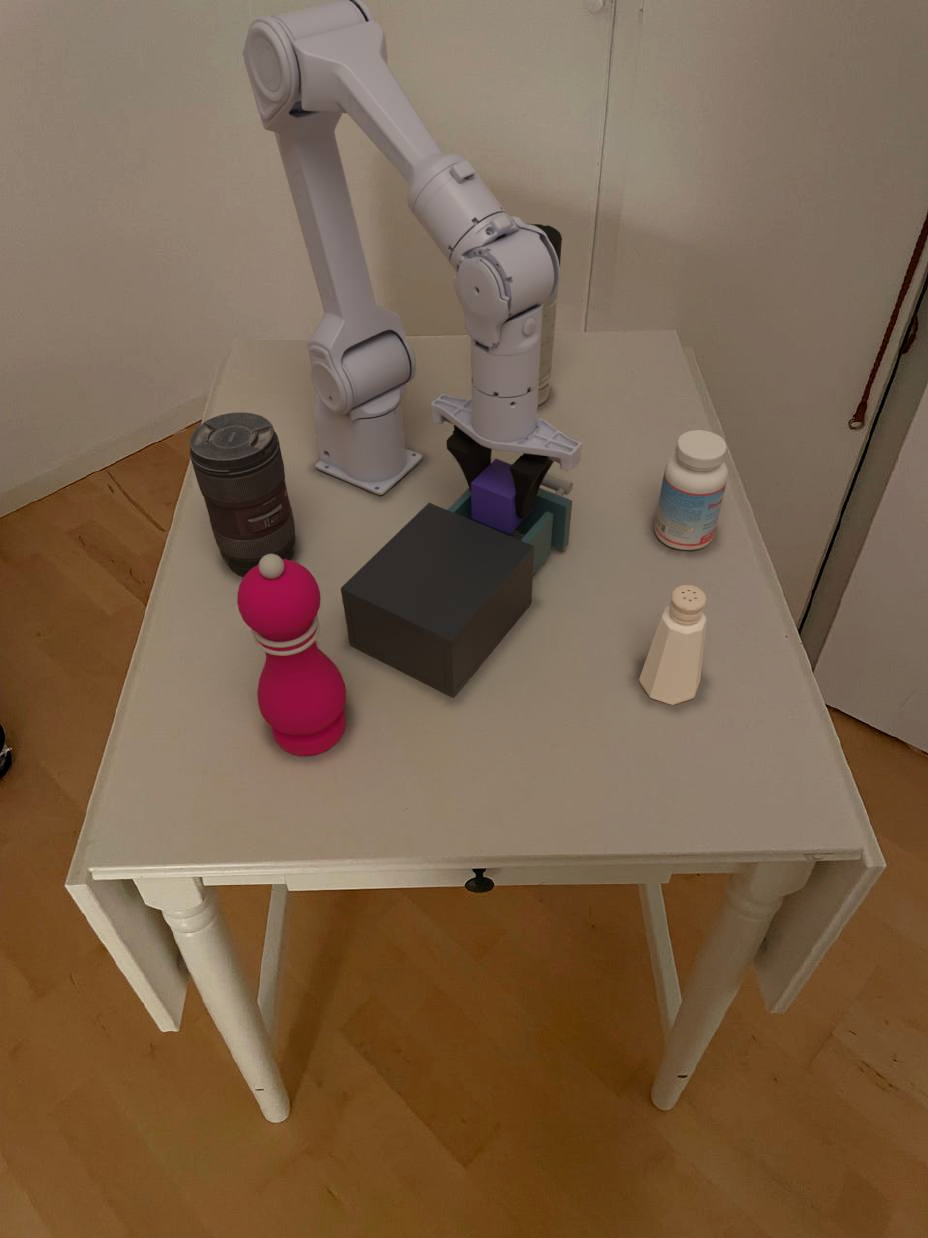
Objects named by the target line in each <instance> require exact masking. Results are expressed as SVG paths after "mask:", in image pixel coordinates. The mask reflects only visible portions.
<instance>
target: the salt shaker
mask: <svg viewBox="0 0 928 1238" xmlns="http://www.w3.org/2000/svg"><path fill="white" fill-rule="evenodd" d="M706 604H707V595H706V594H705V592H704V591H703V590H702V589H701V588H699V587H697V586H695V585H692V584H684V585H683V584H682V585H679V586H677V587H676V588H673V590H672V592H671V595H670V603H669V605H666V606H665V608H664V610H663V613H662V615H661V617H660V620H659V623H658V625H657V628H656V631H655V634H654V637H653V639H652V642H651V645H650V648H649V650H648V653H647V656H646V658H645V661H644V664H643V667H642V671H641V673H640V675H639V678H638V682H639V683H640V684H641V686H642V688H643V689H644V691H645V692H646V694H647V695H648V697H649V698H650V699H652V700H656V701H659V702H662V703H664V704H668V705H671V706H674V705H677V704H681V703H683V702H687V701H689V700H693V699H695V697H696V694H697V692H698V688H699V685H700V683H701V677H702V669H703V660H704V659H703V658H704V650H705V643H706V641H705V640H706V631H707V621H708V620H707V619H708V618H707V616H706V615H705V614H704V610H705V606H706Z"/></svg>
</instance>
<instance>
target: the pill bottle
mask: <svg viewBox="0 0 928 1238" xmlns="http://www.w3.org/2000/svg"><path fill="white" fill-rule="evenodd" d="M674 452H675V453H674V454H672V456H670V457H669V459H667V462H666V463H665V465H664V470H663V471H664V472H663V477H662V483H661V488H660V492H659V493H660V494H659V499H658V503H657V509H656V516H655V522H654V532H655V535H656V536H657V538H658V540H660V541H661V542H662V543H663V544H664V545H666V546H668V547H670V548H672V549H677V550H681V551H682V550H684V551H695V550H700V549H703V548H705V547H707V546H708V545H709V544H710V543H711V542H712V540H713V538H714V537H715V533H716V529H717V524H718V521H719V516H720V512H721V508H722V504H723V500H724V496H725V490H726V488H727V487H726V486H727V482H728V477H729V471H728V467H727V465H726V463H725V458H726V452H727V443H726V441H725V439H723V438H722V437H721V436H720V435H718V434H716V433H714V432H713V431H709V430H703V429H695V430H694V429H693V430H688V431H686V432H683V433H682V434H681V435H680V436H679V437H678V439H677V441H676V446H675V450H674Z"/></svg>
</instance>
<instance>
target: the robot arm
mask: <svg viewBox="0 0 928 1238" xmlns="http://www.w3.org/2000/svg"><path fill="white" fill-rule="evenodd" d="M242 56H243V61H244V65H245V67H246V68H245V69H246V72H247V76H248V80H249V83H250V87H251V90H252V94H253V97H254V101H255V104H256V108H257V111H258V114H259V117H260V120H261V123H262V126H263V128H264V130H265V131H268V132H273V133H274V137H275V140H276V144H277V147H278V151H279V155H280V158H281V162H282V165H283V170H284V172H285V177H286V179H287V184H288V187H289V190H290V194H291V197H292V201H293V204H294V208H295V212H296V215H297V219H298V223H299V226H300V230H301V234H302V237H303V240H304V245H305V248H306V252H307V254H308V255H307V256H308V259H309V262H310V266H311V270H312V273H313V277H314V280H315V284H316V287H317V290H318V291H317V292H318V295H319V298H320V302H321V305H322V309H323V314H322V317H321V319H320V320H319V322H318V323H317V325H316V327H315V328H314V330H313V331H312V333H311V334H310V335H309V338H308V340H307V342H306V345H307V346H306V347H307V348H308V349H307V350H308V355H309V359H310V379H311V382H312V386H313V388H314V391H315V393H316V395H317V398H316V399H315V403H314V406H313V412H312V413H313V414H312V417H313V418H312V419H313V427H314V432H315V438H316V439H315V440H316V443H317V444H316V445H317V450H318V451H317V452H318V457H319V461H317V462H316V463H315V468H316V470H318V471H321V472H323V473H326V474H328V475H331V476H333V477H336V478H338V479H340V480H343V481H345V482H348V483H349V484H352V485H354V486H357V487H359V488H361V489H363V490H366V491H369V492H371V493H374V494H376V495H378V496H384V495H385V494H386V493H387V492H388V491H389V490H390V489H391V488H393V487H394V486H395V485H396V484H397V483H398V482H399V481H400V480H401V479H402V478H404V476H405V475H407V474H408V473H409V472H410V471H412V470H413V468H414V467H416V466H417V465H418V464H419V463H420V462H421V461H422V460H423V455H422V454H421V453H419V452H416V451H414V450H411V449H408V448H406V443H405V440H406V439H405V429H404V418H403V417H404V416H403V405H402V403H403V401H402V398H403V396H405V395H406V394H407V393H408V391H407V383H410V382H411V381H412V380H414V378H415V376H416V373H417V372H416V371H417V358H416V353H415V351H414V348H413V345H412V344H411V342H410V340H409V339H408V336H407V334H406V332H405V329H404V326H403V323H402V320H401V319H402V318H401V316H399V314H397V313H396V312H394V311H393V310H391V309H389V308H388V307H387V308H386V307H385V306H382V305H380V304H377V301H376V296H375V293H374V289H373V285H372V281H371V276H370V273H369V268H368V265H367V264H368V263H367V261H366V255H365V252H364V248H363V244H362V240H361V236H360V231H359V227H358V224H357V219H356V215H355V211H354V207H353V203H352V199H351V195H350V191H349V186H348V183H347V178H346V174H345V170H344V166H343V162H342V158H341V154H340V150H339V146H338V142H337V137H336V128H337V126H338V124H339V122H340V119H341V118H342V115H343V114H347V115H348V116H349V117H350V118H351V120H353V122H354V123H355V124H356V125H357V126H358V127H359V128H360V129H361V131H362V132H363V133H364V134H365V135H366V136H367V137H368V138H369V140H370V141H371V142H372V143H373V144H374V145H375V146H376V148H377V149H378V150H379V151H380V152H381V154H383V156H384V157H385V158H386V159H387V160H388V161H389V162H390V163H391V165H392V166H393V167H394V168H395V169H396V170H397V172H399V174H400V175H401V176H402V177H403V178H404V179H405V181H406V182H407V197H406V201H407V207H408V209H409V211H410V212H411V213H412V214H413V216H414V217H415V219H416V220H417V221H418V222H419V223H420V225H421V226H422V228H423V229H424V230H425V232H426V233H427V234H428V236H429V237H430V238H431V240H432V241H433V242H434V244H435V245H436V247H437V248H438V249H439V251H440V252H441V254H442V255H443V256H444V258H445V259H446V260H447V262H449V264H450V265H451V267H452V268H453V270H454V271H455V272H456V274H454V275H453V276H452V277H453V278H452V279H453V286H454V287H453V288H454V290H455V294H456V297H457V300H458V302H459V305H460V306H461V308H462V311H463V316H464V329H465V330H466V332H467V336H468V337H470V357H471V358H470V359H471V360H470V362H471V363H470V364H471V398H467V397H459V396H453V395H450V394H445V393H441V394H440V395H439V396H438V397H436V398H435V400H433V401H432V402H431V403H430V415H431V417H430V418H431V422H433V423H436V424H439V425H442V424H443V423H445V422H447V423H449V424H452V425H453V430H452V434H451V435H450V436H449V437H448V438H447V439H446V442H445V443H446V450H447V451H448V452H449V453H450V454H451V456H452V457H453V458H454V459H455V461H456V462H457V464H458V465H459V467H460V469H461V471H462V474H463V475H464V479H465V481H466V484H467V486H468V488H469V489H470V492H471V482H473V481H474V480H475V479H476V478H477V477H478V476H479V475H480V474H481V473H482V472H483V471H484V470H485V469H486V468H487V467H488V466H489V465H490V464H491V463H492V451H493V450H495V451H503V452H511V453H518V454H522V455H520V456H519V457H518V458H517V459H516V460H515V461H514V462H513V463H511V464H512V465H511V466H510V472H511V474H512V477H513V480H514V485H515V491H516V501H515V508H516V515H517V517H519V518H521V519H523V518H524V517H525V516H526V515H527V514H528V513H529V512H530V511H531V510H532V509H533V506H534V502H535V499H536V496H537V493H538V490H539V488H541V486H542V485H541V483H542V481H543V479H544V477H545V475H546V473H549V472H548V471H549V470H550V468H551V467H552V466H553V464H554V463H558V464H559V469H560V470H562V471H564V472H567V473H571V472H572V471H573V470H574V469H575V468H576V467H577V465H578V464H579V463H580V462H581V460H582V459H581V458H582V449H583V443H582V442H581V441H578V440H576V439H573V438H571V437H569V436H567V435H566V434H565V433H563V432H561V431H560V430H559V429H557V427H555V426H554V425H552V424H550V423H549V422H547V421H546V420H545V419H544V418H542V417H540V416H539V415H538V407H539V406H538V387H539V367H540V347H541V327H542V307H543V305H542V304H539V303H541V302H543V301H545V300H546V299H547V298H549V297H550V296H552V295H553V294H554V293H555V291H556V289H557V287H558V288H559V285H558V284H560V279H561V265H560V266H559V261H558V257H557V254H556V252H555V249H554V247H553V246H552V244H551V242H550V241H549V239H548V237H547V235H546V233H545V232H544V231H542V230H541V229H540V228H538V227H536V226H534V225H530V224H531V223H526V222H524V221H522V219H521V217H519V216H516V215H513V216H510V215H509V214H508V212H507V211H506V210H505V209H504V207H503V206H502V204H501V203H500V201H499V200H498V199H497V198H496V196H495V195H494V194H493V191H491V190H490V188H489V187H488V186H487V184H486V183H485V181H484V180H483V179H482V178H481V176H480V175H479V173H478V172H477V171H476V170H475V168H474V167H473V166H472V164H471V163H470V161H469V160H468V159H467V158H466V157H465V155H463V154H460V153H455V152H454V153H453V152H444V151H443V150H442V149H441V148H440V146H439V144H438V142H437V141H436V140H435V138H434V137H433V135H432V133H431V132H430V130H429V128H428V127H427V125H426V124H425V122H424V121H423V119H422V118H421V116H420V115H419V112H418V110H416V108H415V106H414V105H413V103H412V102H411V100H410V98H409V97H408V95H407V94H406V92H405V90H404V89H403V88H402V85H401V84H400V83H399V81H398V79H397V78H396V76H395V74H394V73H393V72H392V70H391V68H390V66H389V65H388V49H387V42H386V35H385V31H384V29H383V27H381V25H380V24H378V23H377V21H376V19H375V17H374V15H373V13H372V12H371V10H370V9H369V8H368V6H367V5H366V3H365V2H364V1H363V0H331V1H326V2H322V3H319V4H315V5H311V6H307V7H302V8H299V9H294V10H290V11H287V12H282V13H278V14H273V15H259V16H257V17H256V18H254V19H253V20H252V21H251V23H250V24H249V27H248V30H247V34H246V39H245V43H244V47H243V50H242Z"/></svg>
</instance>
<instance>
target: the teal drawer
mask: <svg viewBox="0 0 928 1238" xmlns="http://www.w3.org/2000/svg"><path fill="white" fill-rule="evenodd" d="M540 486H543V487H545V488H548V489H550V490H553V491H556V492H555V493H554V492H552V491H549V490H546V489H544V488H541V487H540V488H539V490H538V493H537V496H536V499H535V502H534V508H533V510H532V511H531V512H530V514H529V515H528V516H527V517H526V518H525V519H524V520H523V521H522V522H521V523H520V525H519V526H518V527H517V528H516V529H515V530H514V531H513V532H512V533H511V534H508V533H505V532H503V531H500V530H498V529H496V528H493V527H491V526H488V525H486V524H483V523H481V522H479V521H476V520H474V519H472V513H471V492H470V489H469V487H468V488H467V489H466V490H465V491H464V492H463V493H462V494H461V495H460V496H459V497H458V498H457V499H456V500H455V501H454V502H453V503H452V504H451V505H450V506H449V507H448V508H447V509H446V510H449V511H451V512H453V513H456V514H458V515H461V516H463V517H465V518H468V519H470V520H473V521H475V522H477V523H480V524H482V525H485V526H487V527H489V528H492V529H494V530H497V531H499V532H502V533H504V534H506V535H509V536H511V537H514V538H516V539H518V540H521V541H523V542H526V543H528V544H530V545H533V546H534V561H533V575H534V574H535V573H536V572H537V571H538V570H539V568H540V567H541V566H542V565H543V563H544V562H545V561H546V560H547V559H548V557H549V556H550V555H551V551H552V547H553V548H554V549H557V550H559V551H563V552H564V551H565V549H566V548H567V547H568V546H569V543H570V531H571V519H572V508H573V500H572V499H570V498H567V497H564V496H565V495H566V496H569V495H570V494H571V492H572V490H573V488H574V483H573V481H570V480H568V479H565V478H563V477H560V476H558V475H555V474H553V473H550V472H547V473H546V475H545V477H544V479H543V481H542V483H541V485H540ZM514 532H516V533H514ZM517 533H518V534H517ZM519 534H521V535H523V536H521V535H519Z"/></svg>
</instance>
